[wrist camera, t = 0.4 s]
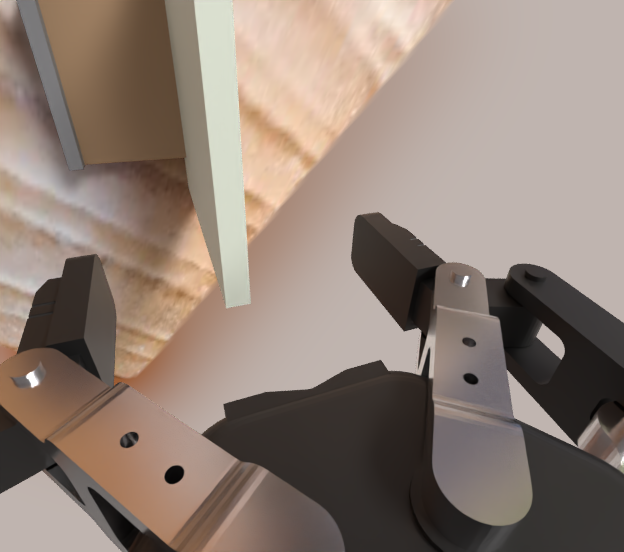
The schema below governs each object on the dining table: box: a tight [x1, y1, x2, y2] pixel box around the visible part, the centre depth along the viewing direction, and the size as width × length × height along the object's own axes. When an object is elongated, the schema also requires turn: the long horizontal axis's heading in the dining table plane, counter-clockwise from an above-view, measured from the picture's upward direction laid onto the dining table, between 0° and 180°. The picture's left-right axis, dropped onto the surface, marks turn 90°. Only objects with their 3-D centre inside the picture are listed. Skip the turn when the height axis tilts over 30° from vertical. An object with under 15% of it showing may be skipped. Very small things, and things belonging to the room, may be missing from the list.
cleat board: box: [16, 0, 251, 308], centre depth 25 cm, size 20×10×20 cm, turn 178°
